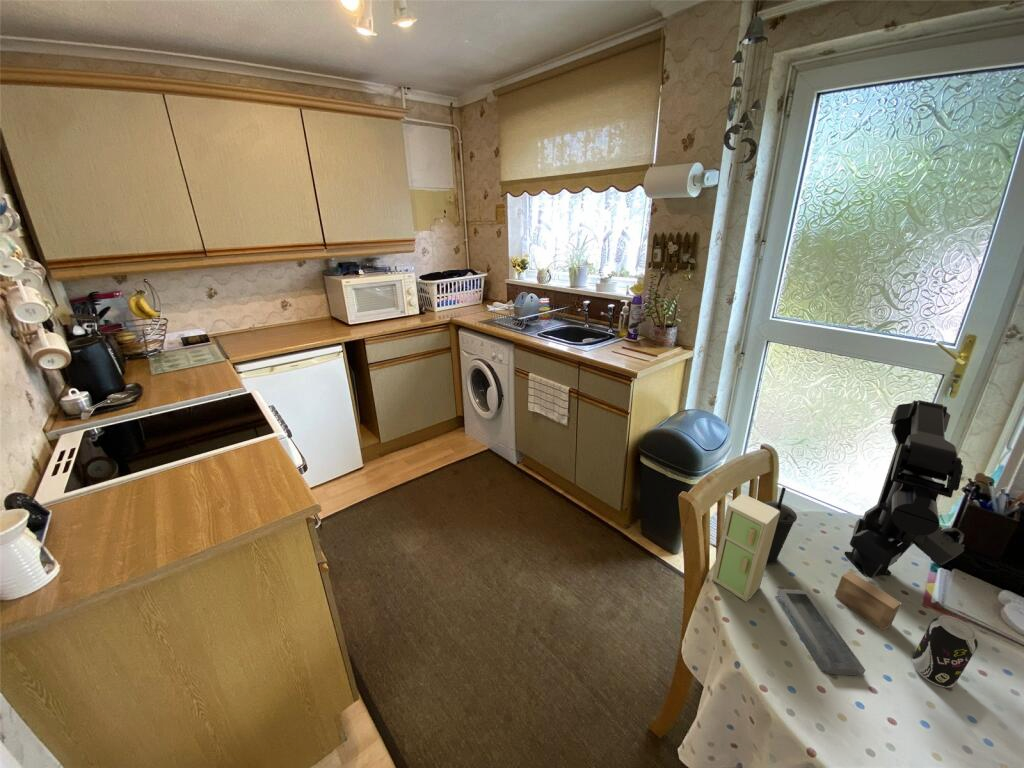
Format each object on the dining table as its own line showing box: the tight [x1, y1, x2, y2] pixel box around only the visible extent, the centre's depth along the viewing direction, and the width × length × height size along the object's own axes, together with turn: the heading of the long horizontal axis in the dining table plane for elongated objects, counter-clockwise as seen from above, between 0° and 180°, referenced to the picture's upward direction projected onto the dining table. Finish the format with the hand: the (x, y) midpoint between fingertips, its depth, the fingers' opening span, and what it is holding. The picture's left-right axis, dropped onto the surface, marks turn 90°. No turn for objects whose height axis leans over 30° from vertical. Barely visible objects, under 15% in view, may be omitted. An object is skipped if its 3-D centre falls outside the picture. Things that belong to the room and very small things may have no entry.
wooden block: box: [834, 570, 902, 631], centre depth 85 cm, size 9×3×6 cm, turn 26°
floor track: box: [775, 588, 866, 677], centre depth 81 cm, size 17×7×2 cm, turn 176°
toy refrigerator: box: [711, 493, 780, 602], centre depth 89 cm, size 8×7×21 cm
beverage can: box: [911, 614, 979, 689], centre depth 72 cm, size 6×6×12 cm
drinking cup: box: [761, 486, 798, 565], centre depth 96 cm, size 8×8×20 cm
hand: (880, 568), depth 82 cm, fingers open, 9 cm apart
